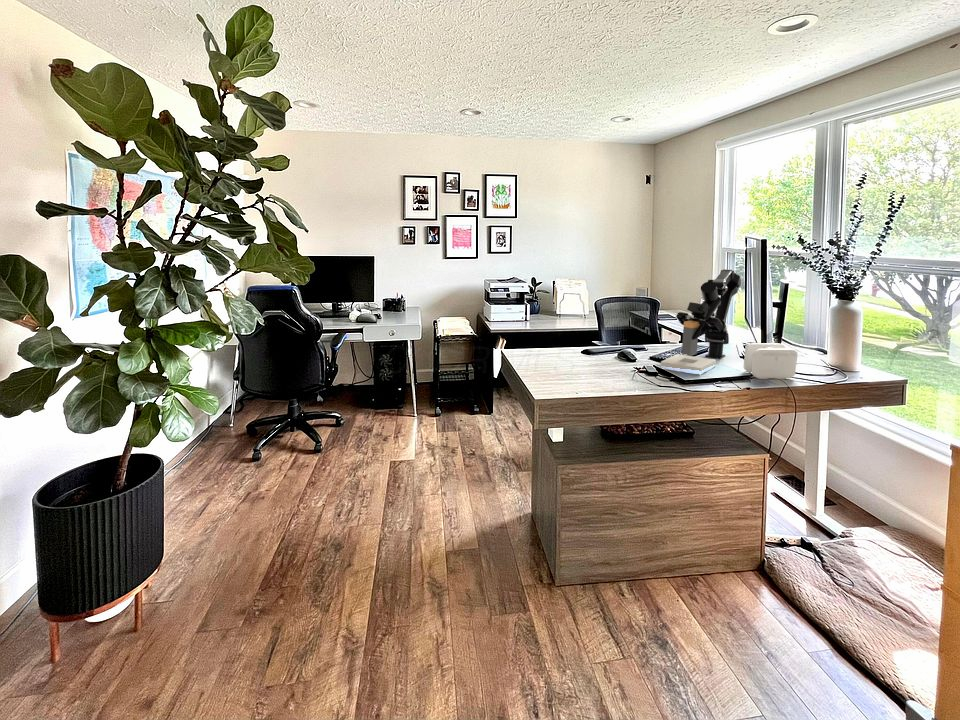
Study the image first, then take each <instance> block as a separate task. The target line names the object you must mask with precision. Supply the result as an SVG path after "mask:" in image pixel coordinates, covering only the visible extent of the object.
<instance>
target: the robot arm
mask: <svg viewBox="0 0 960 720" xmlns="http://www.w3.org/2000/svg"><path fill="white" fill-rule="evenodd" d="M741 284H742V279H741V277H740V275H739V274H737V273H736V272H735V270H734V269H726V268H725V269H721V270H720V273H719V274H718V275H717V276H716V278H714V279H708V280H707V281H705V282H704V283H702V285H701V286H700V291H701V296H702V299H703V302H702V303H697V302H690V301H689V302H688V306H687V308H686V311H689V312H691V313H690V314H691V315H690V314H689V313H688V312H682V311H680V312H678V313H677V314H676V316H675V318H676V319H677V320H678V322H679V323H680V325H682V326H684V322H685V321H696V322H699V327H698V329H697V330H696V332H695V333H694V335H693V337H692V339H693V340H694V339H696V338H698V339H699V338H700V337H701V336H704V342H705V343H708V351H707V352H708V353H707V354H705V355H704V356H705V358H711V359H720V360H721V359H722V358H724V357H726V354H724V345H729V341H730V337H729V332H728V330H727V329H728V328H727V324H726V320H727V317H728V314H729V309H730V306H731V302H732V298H733V297H734V296H735V295H736V294H737V293H738V292H739V289H740V288H741V286H742V285H741ZM715 311H716V312H715Z"/></svg>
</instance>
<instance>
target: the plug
mask: <svg viewBox="0 0 960 720" xmlns="http://www.w3.org/2000/svg"><path fill="white" fill-rule="evenodd" d="M698 327H699V322H696V321H685V322H684V325H683V330H682V343H681V355H687V356H694V355H697V354H698V341H699V340H698V339H699V337H698V338H696V339H694V340H693V339H692V337H693V335H694V333H695V332H696V330H697V329H698Z"/></svg>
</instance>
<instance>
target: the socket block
mask: <svg viewBox="0 0 960 720" xmlns="http://www.w3.org/2000/svg"><path fill="white" fill-rule="evenodd" d="M716 363H717V359H715V358H709V357H700V356H694V355H685V354H679V353H676V354H674V355H672V356H669V357H668V358H666V359H664V360H661V361H660V367H661V366H665V367H672V368H680V369H691V370H699V371H702V370H704V369H706V368H708V367H710V366H713V365H715V364H716ZM715 366H716V365H715Z"/></svg>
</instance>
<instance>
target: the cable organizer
mask: <svg viewBox="0 0 960 720" xmlns="http://www.w3.org/2000/svg"><path fill="white" fill-rule="evenodd" d="M797 361H798V351H796V350H795V349H792V348H786V346H785V345H784V344H782V343H776V342H775V343H772V342H771V343H770V342H768V343H765V342H763V343H762V342H761V343H760V342H759V343H757V342H755V343H754V342H752V343H748V344H746V346H745V349H744V359H743V369H744V370H745V371H746V372H748V373H749V372H752V373H751V374H752V376H753V377H755V378H756V379H758V380H768V379H776V380H786V379H791V378H793V377H794V376H795V375H796V370H797Z"/></svg>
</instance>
